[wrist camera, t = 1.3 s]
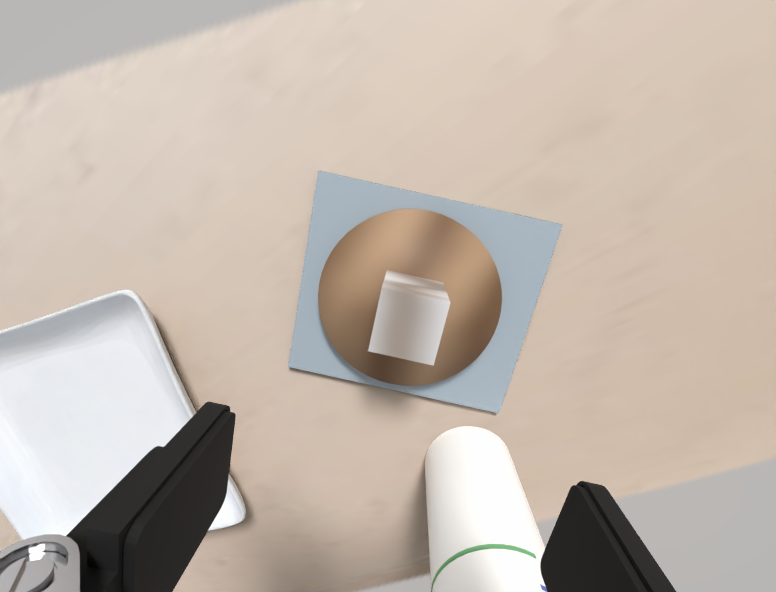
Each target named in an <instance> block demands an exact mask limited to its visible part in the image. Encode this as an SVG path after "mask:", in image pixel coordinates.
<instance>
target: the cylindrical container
mask: <svg viewBox="0 0 776 592" xmlns="http://www.w3.org/2000/svg"><path fill="white" fill-rule="evenodd" d="M425 478H426V497H427V516H428V536H429V555H430V574H431V592H547V589H546V586H545V583H544V581H543V578H542V575H541V569H540V563H541V558H542V555H543V553H544V551H545V547H544V544H543V541H542V538H541V536H540V533H539V530H538V528H537V525H536V522H535V520H534V517H533V514H532V512H531V509H530V506H529V504H528V501H527V498H526V496H525V493H524V490H523V488H522V485H521V482H520V480H519V477H518V475H517V472H516V469H515V467H514V464H513V461H512V459H511V456H510V453H509V451H508V448H507V447H506V445H505V443H504V442H503V441H502V440H501V439H500V438H499V437H498V436H497V435H495V434H494V433H492V432H490V431H488V430H486V429H482V428H479V427H470V426H465V427H457V428H454V429H450V430H448V431H446V432H444V433H442V434H441V435H440V436H438V437H437V438H436V439H435V440H434V441H433V442H432V443H431V445H430V446H429V448H428V450H427V453H426V456H425Z"/></svg>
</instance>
